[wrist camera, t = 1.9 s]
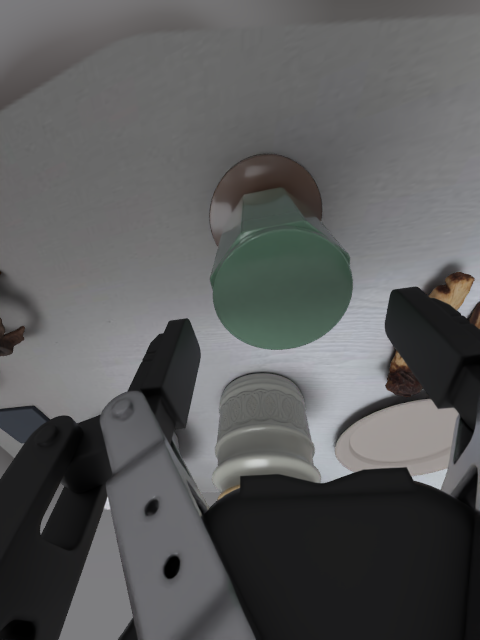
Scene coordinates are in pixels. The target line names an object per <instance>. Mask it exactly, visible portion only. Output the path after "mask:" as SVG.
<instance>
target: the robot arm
mask: <svg viewBox="0 0 480 640" xmlns="http://www.w3.org/2000/svg"><path fill="white" fill-rule="evenodd" d="M385 331H386V334H387V337H388V338H389V340H390V341H391V343H392V344H393V346H394V347H395V348H396V350H397V351H398V353H399V354H400V356H401V357H402V358H403V360H404V361H405V363H406V364H407V366H408V367H409V368H410V370H411V371H412V373H413V374H414V376H415V377H416V378H417V380H418V381H419V383H420V384H421V386H422V387H423V388H424V390H425V391H426V393H427V394H428V396H429V397H430V398H431V400H432V401H433V403H434V404H435V406H436V407H437V408H438V409H445V408H455V409H456V411H457V412H458V413H459V414H458V416H457V418H456V422H455V428H454V434H453V440H452V446H451V452H450V458H449V464H448V470H447V473H446V477H445V479H444V482H443V484H442V487H441V490H439V489H437V488H434V487H432V486H430V485H427V484H423V483H420V482H417V481H413V479H412V477H411V475H410V473H409V471H408V469H407V467H400V468H381V469H363V470H360V471H358V472H355V473H352V474H349V475H347V476H344V477H341V478H338V479H335V480H333V481H330V482H327V483H315V482H311V481H307V480H303V479H298V478H294V477H290V476H285V475H281V474H268V475H250V476H240V488H238V489H236V490H233V491H232V492H230V493H228V494H226V495H224V496H223V497H222V498H220V499H219V500H217V501H216V502H215V503H214V504H213V505H212V506H211V507H210V508H209V506H208V505H207V503H206V501H205V499H204V497H203V496H202V494H201V492H200V490H199V489H198V487H197V485H196V483H195V481H194V480H193V478H192V476H191V474H190V472H189V470H188V468H187V466H186V464H185V462H184V460H183V458H182V456H181V454H180V452H179V450H178V449H177V447H176V445H175V443H174V441H173V439H172V437H173V433H174V429H184V428H186V423H187V418H188V414H189V409H190V405H191V400H192V395H193V391H194V386H195V382H196V377H197V372H198V368H199V363H200V358H201V353H200V347H199V344H198V341H197V338H196V336H195V333H194V330H193V328H192V325H191V323H190V321H189V319H187V318H186V319H179V320H172V321H169V322H168V325H167V327H166V329H165V331H164V333H163V334H159V335H158V336H157V337H156V338H155V339H154V340H153V341H152V342H151V343H150V345H149V347H148V350H147V352H146V354H145V356H144V358H143V362H141V364H140V366H139V368H138V370H137V373H136V375H135V377H134V379H133V381H132V383H131V385H130V387H129V389H128V391H127V392H125V393H122V394H120V395H118V396H117V397H115V398H114V399H113V400H111V401H110V402H109V403H108V404H107V406H106V407H105V408H104V410H103V411H102V414H101V415H99V416H96V417H93V418H91V419H88V420H85V421H83V422H80V423H76V422H75V421H74V420H73V419H72V418H71V417H69V416H58V417H55V418H53V419H51V420H49V421H47V422H45V423H44V424H42V425H41V426H40V427H39V428H37V429H36V430H35V431H34V432H33V433H32V434H31V435H30V437H29V438H28V439H27V441H26V442H25V444H24V445H23V447H22V448H21V449H20V451H19V452H18V454H17V455H16V457H15V458H14V460H13V461H12V463H11V464H10V466H9V467H8V469H7V470H6V472H5V473H4V474H3V476H2V478H1V479H0V640H58V639H59V636H60V633H61V631H62V628H63V625H64V621H65V619H66V616H67V613H68V610H69V607H70V605H71V601H72V598H73V596H74V593H75V590H76V587H77V584H78V581H79V578H80V576H81V573H82V570H83V567H84V564H85V561H86V558H87V555H88V552H89V550H90V547H91V544H92V541H93V538H94V535H95V532H96V529H97V526H98V523H99V521H100V518H101V514H102V512H103V509H104V506H105V503H106V500H107V497H108V500H109V505H110V510H111V514H112V519H113V524H114V529H115V533H116V538H117V543H118V547H119V552H120V557H121V562H122V566H123V571H124V576H125V580H126V585H127V590H128V595H129V599H130V604H131V609H132V614H133V618H132V620H131V621H130V623H129V624H128V626H127V627H126V629H125V630H124V632H123V633H122V635H121V636H120V637H119V639H118V640H480V329H479V328H477V327H476V326H475V325H474V324H473V323H471V324H470V321H469V320H468V319H467V318H465V317H464V316H461V313H459V312H458V311H457V310H456V309H454V308H453V307H452V306H451V305H450V304H447V303H445V302H443V301H441V300H438V299H436V298H430V297H429V296H428V295H427V294H425V293H424V292H423V291H422V290H421V289H420V288H418V287H409V288H402V289H395V290H393V291H392V292H391V294H390V298H389V304H388V309H387V314H386V320H385ZM60 483H61V484H62V485H64V488H63V490H62V493H61V495H60V497H59V499H58V501H57V503H56V505H55V507H54V509H53V511H52V513H51V515H50V518H49V520H48V522H47V524H46V526H45V528H44V530H43V532H42V534H41V535H40V525H41V521H42V518H43V516H44V514H45V512H46V510H47V508H48V506H49V504H50V502H51V500H52V498H53V496H54V494H55V492H56V490H57V488H58V486H59V484H60Z"/></svg>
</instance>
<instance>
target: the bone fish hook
mask: <svg viewBox="0 0 480 640" xmlns="http://www.w3.org/2000/svg"><path fill="white" fill-rule="evenodd" d="M473 281H474V277H472V276H471V275H469V274H464V273H462V272H456V273H453V274H451V275H449V276H448V277H447V278H446V279H445V282H446V284H445V285H439V286H437V287H436V288H435V289H434V290H433V291H432V293H431V294H430V295H429V297H430V298H436V299H438V300H441V301H443V302H445V303H447V304H450V305H451V306H452V307H453V308H454V309H456V310H457V309H458V308H459V307H460V306H461V305H462V303H463V302H464V299H465V297H466V296H467V294H468V293H469V291H470V288H471V286H472V284H473ZM469 321H470V324H471V323H473V324H474V325H475V326H476V327H477V328H479V329H480V302H479V303H478V305H477V306H476V308H475V309H474V311H473V313H472V315H471V317H470V319H469ZM389 371H390V373H389V375H388V378H387V380H388V381H387V384H386V385H385V386H386V388H387V390H389V391H391V392H393V393H394V394H395V395H398V396H404V397H411V395H415V394H417V393H419V392H420V391H421V390H422V389H423V387H422V386H421V384H420V383H419V381H418V380H417V378H416V377H415V376H414V374H413V373H412V371H411V370H410V368H409V367H408V366H407V364H406V363H405V361H404V360H403V358H402V357H401V356H400V354H399V353H398V351H397V350H396V353H395V356H394V358H393V359H392V361H391V366H390V368H389Z"/></svg>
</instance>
